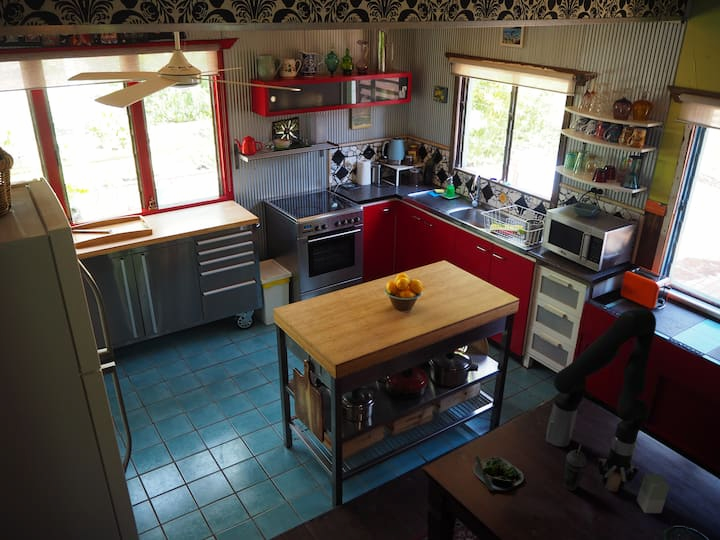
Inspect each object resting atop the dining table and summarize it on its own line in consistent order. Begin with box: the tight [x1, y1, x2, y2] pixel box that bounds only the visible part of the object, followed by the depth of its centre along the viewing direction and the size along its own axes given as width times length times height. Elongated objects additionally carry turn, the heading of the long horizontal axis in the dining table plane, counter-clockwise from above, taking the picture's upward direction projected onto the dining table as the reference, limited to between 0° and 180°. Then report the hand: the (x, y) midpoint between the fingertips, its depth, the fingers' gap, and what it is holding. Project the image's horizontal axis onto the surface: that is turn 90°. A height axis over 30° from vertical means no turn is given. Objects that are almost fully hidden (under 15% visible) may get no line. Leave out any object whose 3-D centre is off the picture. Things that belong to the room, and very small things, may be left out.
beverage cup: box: [563, 443, 587, 492], centre depth 218 cm, size 7×7×20 cm
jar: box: [604, 472, 622, 493], centre depth 222 cm, size 5×5×7 cm
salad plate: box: [473, 455, 525, 493], centre depth 225 cm, size 19×18×5 cm
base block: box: [636, 487, 666, 514], centre depth 214 cm, size 6×6×6 cm
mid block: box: [640, 473, 671, 501], centre depth 211 cm, size 6×6×6 cm
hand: (612, 485), depth 223 cm, fingers closed on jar, 4 cm apart
